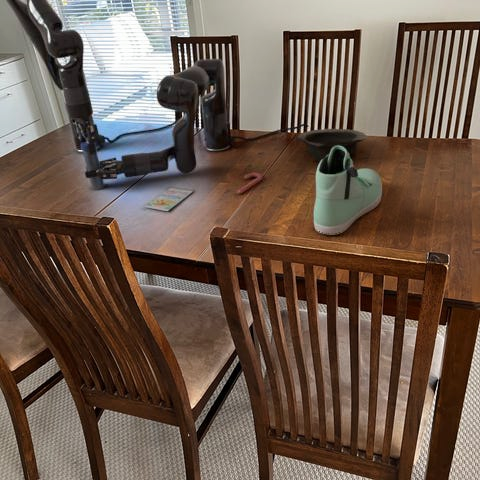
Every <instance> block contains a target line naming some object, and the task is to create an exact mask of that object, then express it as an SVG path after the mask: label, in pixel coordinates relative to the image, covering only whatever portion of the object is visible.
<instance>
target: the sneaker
mask: <svg viewBox="0 0 480 480" xmlns="http://www.w3.org/2000/svg"><path fill="white" fill-rule="evenodd" d="M317 165H318V166H317V168H316V172H315V201H314V207H313V225H314V229H315V231H316V232H318V233H320V234H323V235H326V236H327V235H328V236H336V235H339V234H342V233H344V232H345V231H347V230H348V229H349V228H350V227H351V226H352V225H353V224H354V222H356V221H357V220H358V219H359V218H360V217H362V216H363V215H365V214H367V213H370V212H372V210H374V209H375V208H377V207H378V205H380V203H381V200H382V196H383V184H382V183H383V182H382V179H381V176H380V175H379V173H378V172H377V171H376V170H374V169H372V168H367V167H365V168H358V169H357V168H355V167H354V161H353V159H352V158H351V157H350V156H349V153H348V152H347V150H346V149H345V148H344V147H342V146H334V147H333V148H332V149H331V152H330V154H329V155H327V156H326V157H325V158H324V159H322V160H321V161H320V162H318V164H317ZM343 230H344V231H343ZM319 231H320V232H319ZM322 232H323V233H322ZM339 232H340V233H339ZM326 233H327V234H326ZM328 233H329V234H328ZM335 233H337V234H335Z"/></svg>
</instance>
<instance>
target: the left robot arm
mask: <svg viewBox="0 0 480 480" xmlns="http://www.w3.org/2000/svg"><path fill="white" fill-rule="evenodd" d="M5 2H6V3H7V5H8V6H9V7H10V9H11V10H12V12H13V14H14V15H15V17H16V18H17V20H18V22H19V23H20V26H21V27H22V29H23V30H24V32H25V34H26V36H27V37H28V39H29V41H30V42H31V44H32V45H33V46H34V48H35V50H36V51H37V53H38V55H39V56H40V58H41V60H42V62H43V63H44V65H45V67H46V69H47V71H48V73H49V76H50V77H51V80H52V81H53V83H54V85H55V86H56V88H57V89H58V90H60V91H62V93H63V99H64V106H65V110H66V114H67V115H66V116H67V118H68V122H69V126H70V130H71V133H72V137H73V142H74V145H75V150H76V152H77V153H80V154H83V150H82V149H81V145H80V144H81V143H83V142H87V146H88V150H89V154H90V155H94V154H96V153H97V154H98V151H97V152H96V150H99V149H100V148H102V145H103V144H106V141H107V142H108V143H114V142H116V141H117V140H119V139H120V138H121V137H124V136H129V135H136V134H143V133H151V132H156V131H162V130H165V129H167V128H169V127H172V126H175V124H176V123H177V122H178V121H179V120H180V119H181V118H182V117H180V118H177V119H176V120H175V121H174V122H172V123H170V124H167V125H163V126H161V127H157V128H151V129H145V130H137V131H130V132H129V131H128V132H123V133H120V134H119V135H117V136H116V137H115V138H114V139H112V140H110V138H109V137H108V136H105V135H103V134H100V133H99V129H98V125H97V123H95V121H94V116H93V114H94V110H93V105H92V101H91V97H90V92H89V89H88V84H87V79H86V74H85V72H84V52H85V48H84V47H85V45H84V40H83V37H82V35H81V34H80V33H79V32H78V31H77V30H75V29H66V30H63V29H64V24H63V21H62V19H61V18H60V16H59V14H57V12H56V11H55V10H54V8H53V7H52V5H50V4H51V3H49V2H48V0H26V2H24V1H22V0H5ZM68 57H69V61H68V62H67V63H65V64H64V65H63V64H61V62H60V61H59V60H58V59H63V58H68ZM95 143H96V148H95Z"/></svg>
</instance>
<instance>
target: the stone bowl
mask: <svg viewBox="0 0 480 480" xmlns="http://www.w3.org/2000/svg"><path fill="white" fill-rule="evenodd" d="M368 137H369V136H368V135H367V134H365V133H364V132H362V131H359V130H355V129H348V128H324V129H314V130H308V131H303V132H301V133H299V134H298V136H297V137H296V140H298V141H299V142H302V143H305V148H306V150H307V152H308V154H309V155H310V156H312V157H313V158H314V161H315V162H317V163H320V161H321V160H322V159H324V158H325V157H326V156H327V155H329V154H330V152H331V149H332V148H333V147H334V146H342V147H344V148H345V149H346V150H347V152H348V153H349V156H350V158H353V157H354V156H355V154H356V149H357V144H358V143H360V142H362V141H364V140H366V139H368Z"/></svg>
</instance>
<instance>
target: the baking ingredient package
mask: <svg viewBox="0 0 480 480" xmlns="http://www.w3.org/2000/svg"><path fill="white" fill-rule="evenodd" d="M193 192H194V191H193V190H189V189H188V190H187V189H180V188H175V187H169V188H168V189H166V190H165V191H163V192H162V193H161V194H159V195H157V197H155V198H153V199H152V200H151V201H149V202H148V203H147V204H145V205H144V206H143V208H147V209H152V210H153V209H154V210H158V211H164V212H169V211H170V210H171V209H172V208H173V207H175V206H176V205H178V204H179V203H180V202H182V200H184V199H185V198H186V197H189V195H190V194H192V193H193Z"/></svg>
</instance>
